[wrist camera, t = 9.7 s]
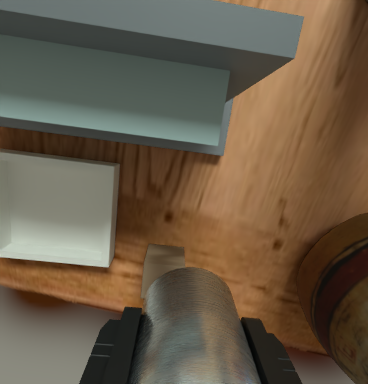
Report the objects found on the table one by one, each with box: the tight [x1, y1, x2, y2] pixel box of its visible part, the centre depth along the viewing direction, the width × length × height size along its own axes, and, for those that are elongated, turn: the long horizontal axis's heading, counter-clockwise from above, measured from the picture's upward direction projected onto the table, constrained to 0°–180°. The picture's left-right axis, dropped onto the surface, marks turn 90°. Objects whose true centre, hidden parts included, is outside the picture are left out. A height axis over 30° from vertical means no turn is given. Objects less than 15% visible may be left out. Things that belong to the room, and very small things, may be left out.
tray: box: [0, 149, 120, 267], centre depth 26 cm, size 13×12×2 cm
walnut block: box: [141, 244, 185, 298], centre depth 27 cm, size 4×4×4 cm
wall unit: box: [0, 0, 304, 156], centre depth 17 cm, size 24×7×16 cm, turn 83°
